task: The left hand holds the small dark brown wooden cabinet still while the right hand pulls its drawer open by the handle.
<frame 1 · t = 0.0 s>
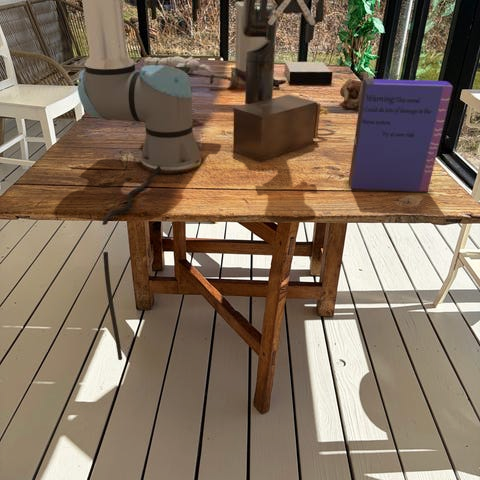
left hand: (174, 20, 152), 28 cm above the table, tool pointing down, fingers open, 13 cm apart
right hand: (289, 42, 110), 29 cm above the table, tool pointing down, fingers open, 8 cm apart
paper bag: (253, 72, 218), on the table
cabinet: (274, 147, 134), on the table
toy: (178, 73, 214), on the table
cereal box: (387, 187, 112), on the table
figurine: (247, 88, 192), on the table
figurine character: (179, 89, 189), on the table
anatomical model: (351, 104, 173), on the table
drawer: (289, 122, 135), point 6 cm above the table, slide at 1.3 cm
disc drive: (306, 78, 208), on the table
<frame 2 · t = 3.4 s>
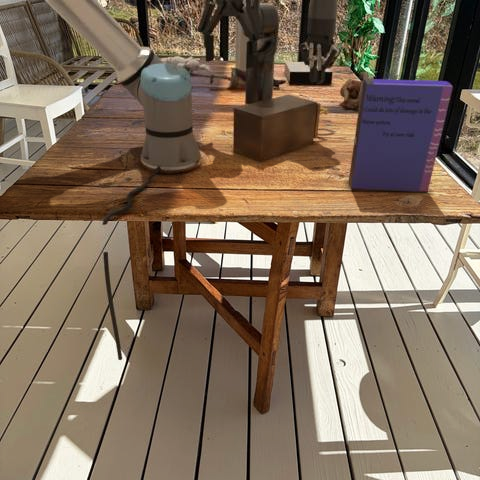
left hand: (229, 64, 130), 21 cm above the table, tool pointing down, fingers open, 13 cm apart
right hand: (316, 82, 136), 15 cm above the table, tool pointing down, fingers closed
nothing on the table moved.
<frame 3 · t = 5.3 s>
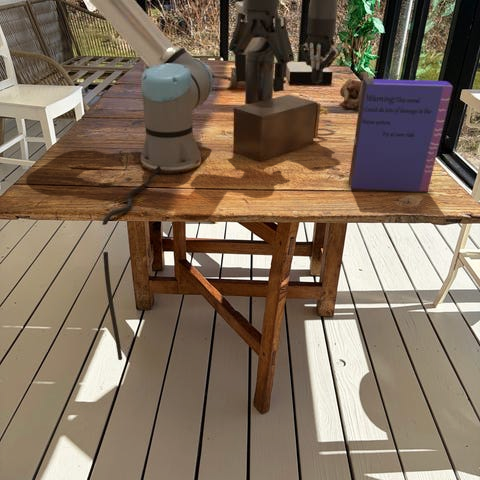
left hand: (258, 86, 121), 18 cm above the table, tool pointing down, fingers open, 13 cm apart
right hand: (316, 82, 136), 15 cm above the table, tool pointing down, fingers closed
nothing on the table moved.
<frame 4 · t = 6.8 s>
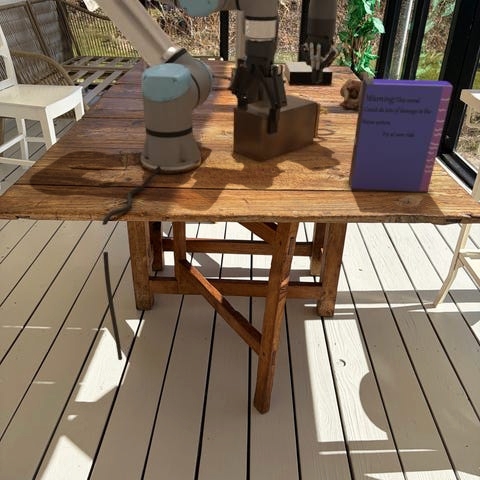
left hand: (257, 127, 127), 7 cm above the table, tool pointing down, fingers closed on cabinet, 11 cm apart
right hand: (316, 82, 136), 15 cm above the table, tool pointing down, fingers closed
cabinet: (274, 147, 134), on the table, touching left hand
everything else where it was.
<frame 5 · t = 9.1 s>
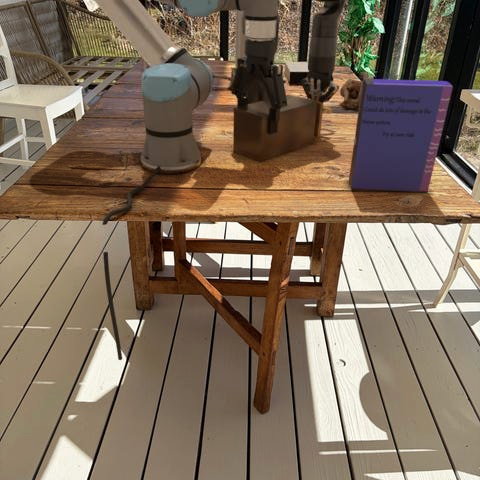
left hand: (257, 127, 127), 7 cm above the table, tool pointing down, fingers closed on cabinet, 11 cm apart
right hand: (316, 114, 142), 6 cm above the table, tool pointing down, fingers closed
cabinet: (274, 147, 134), on the table, touching left hand
drawer: (292, 121, 136), point 6 cm above the table, slide at 2.6 cm, touching right hand
everything else where it was.
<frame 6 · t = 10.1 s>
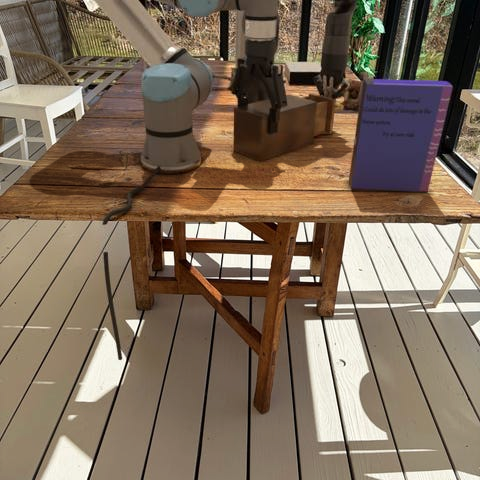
left hand: (257, 127, 127), 7 cm above the table, tool pointing down, fingers closed on cabinet, 11 cm apart
right hand: (328, 111, 145), 6 cm above the table, tool pointing down, fingers closed
cabinet: (274, 146, 134), on the table, touching left hand
drawer: (306, 117, 139), point 6 cm above the table, slide at 8.2 cm, touching right hand
everything else where it was.
when the left hand's fingers open (7 cm above the table, at t = 11.7 s): cabinet stays where it is, on the table.
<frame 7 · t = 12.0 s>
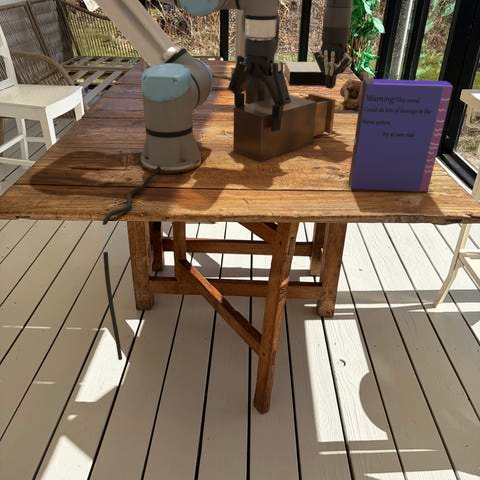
left hand: (257, 124, 126), 8 cm above the table, tool pointing down, fingers open, 13 cm apart
right hand: (329, 88, 141), 13 cm above the table, tool pointing down, fingers closed
cabinet: (274, 147, 134), on the table
drawer: (305, 117, 139), point 6 cm above the table, slide at 8.2 cm
everything else where it was.
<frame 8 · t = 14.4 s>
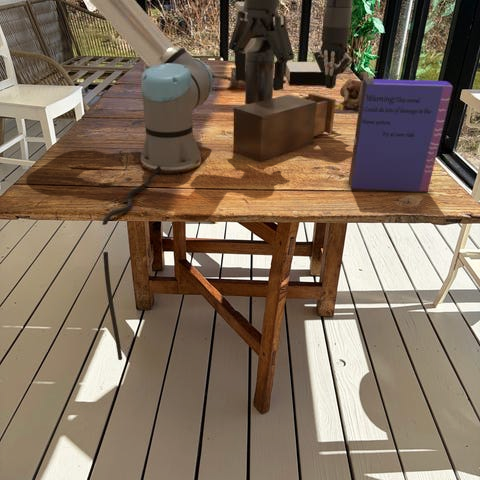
left hand: (258, 84, 121), 18 cm above the table, tool pointing down, fingers open, 13 cm apart
right hand: (329, 88, 141), 13 cm above the table, tool pointing down, fingers closed
nothing on the table moved.
at the end: drawer slide at 8.2 cm; cabinet tilted 0°; cabinet never tilted more than 1° during the clip; cabinet moved 0.1 cm from its start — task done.
